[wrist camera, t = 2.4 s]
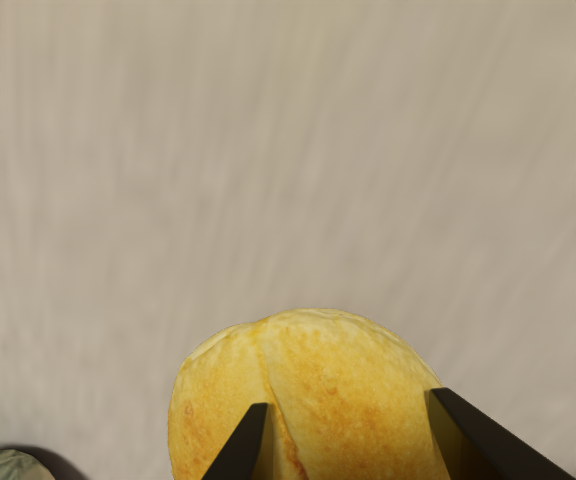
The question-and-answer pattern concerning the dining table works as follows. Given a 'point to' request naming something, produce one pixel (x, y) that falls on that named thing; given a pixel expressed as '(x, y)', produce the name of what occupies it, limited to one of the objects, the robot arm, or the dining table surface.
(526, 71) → the dining table surface
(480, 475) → the robot arm
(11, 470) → the spool
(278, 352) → the bread roll
